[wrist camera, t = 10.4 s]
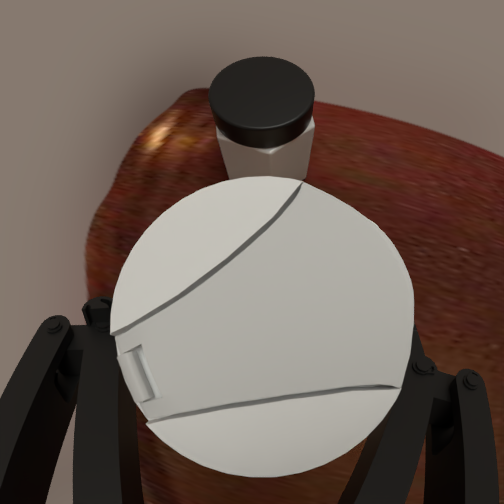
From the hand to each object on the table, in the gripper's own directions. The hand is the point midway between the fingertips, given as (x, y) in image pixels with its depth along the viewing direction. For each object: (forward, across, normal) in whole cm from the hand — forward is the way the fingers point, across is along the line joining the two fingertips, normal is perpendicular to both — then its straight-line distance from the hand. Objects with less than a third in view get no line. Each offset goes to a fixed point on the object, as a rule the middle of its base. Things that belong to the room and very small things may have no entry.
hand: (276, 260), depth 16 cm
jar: (+20, -3, -1) cm, 21 cm away
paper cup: (+1, 0, -6) cm, 6 cm away
